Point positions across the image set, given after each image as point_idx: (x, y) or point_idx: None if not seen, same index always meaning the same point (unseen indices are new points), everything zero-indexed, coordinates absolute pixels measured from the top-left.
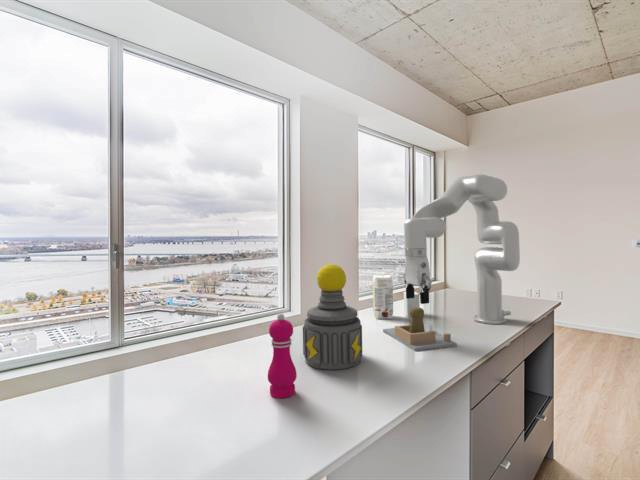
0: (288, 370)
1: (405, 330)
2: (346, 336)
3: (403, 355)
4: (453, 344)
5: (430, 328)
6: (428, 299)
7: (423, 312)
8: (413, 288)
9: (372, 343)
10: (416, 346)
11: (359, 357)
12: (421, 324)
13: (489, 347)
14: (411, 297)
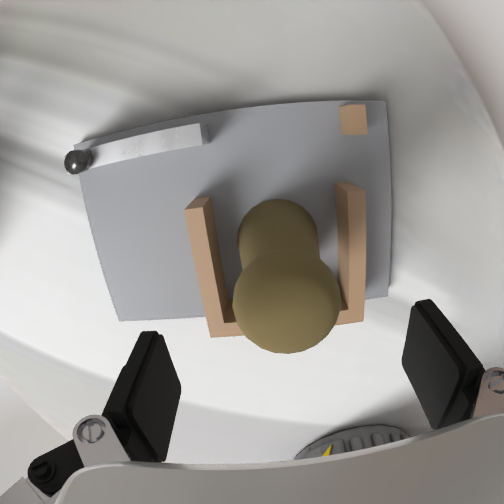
0: None
1: None
2: None
3: (401, 335)
4: (384, 115)
5: (204, 137)
6: (442, 321)
7: (330, 272)
8: (138, 412)
9: (262, 386)
10: (375, 283)
11: (408, 437)
12: (319, 257)
13: (413, 2)
14: (170, 361)
